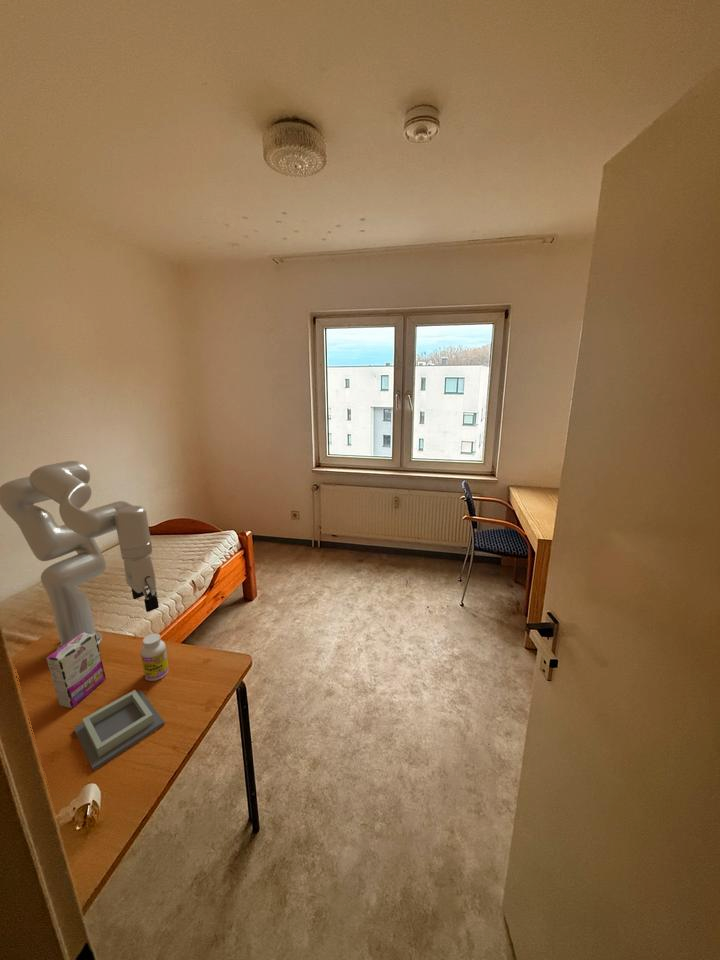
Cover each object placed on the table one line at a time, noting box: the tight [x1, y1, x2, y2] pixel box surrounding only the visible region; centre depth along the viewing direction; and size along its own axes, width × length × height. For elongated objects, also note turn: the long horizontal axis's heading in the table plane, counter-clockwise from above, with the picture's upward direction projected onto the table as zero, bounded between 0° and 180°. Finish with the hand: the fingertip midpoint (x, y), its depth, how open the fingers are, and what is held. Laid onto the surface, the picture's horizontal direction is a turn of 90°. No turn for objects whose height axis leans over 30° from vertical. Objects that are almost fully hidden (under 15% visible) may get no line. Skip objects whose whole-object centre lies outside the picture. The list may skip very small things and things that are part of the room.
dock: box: [73, 689, 165, 772], centre depth 96 cm, size 16×16×4 cm
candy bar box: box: [45, 632, 107, 709], centre depth 106 cm, size 11×5×16 cm, turn 168°
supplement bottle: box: [140, 633, 169, 682], centre depth 113 cm, size 7×7×13 cm
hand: (145, 603), depth 108 cm, fingers open, 9 cm apart
